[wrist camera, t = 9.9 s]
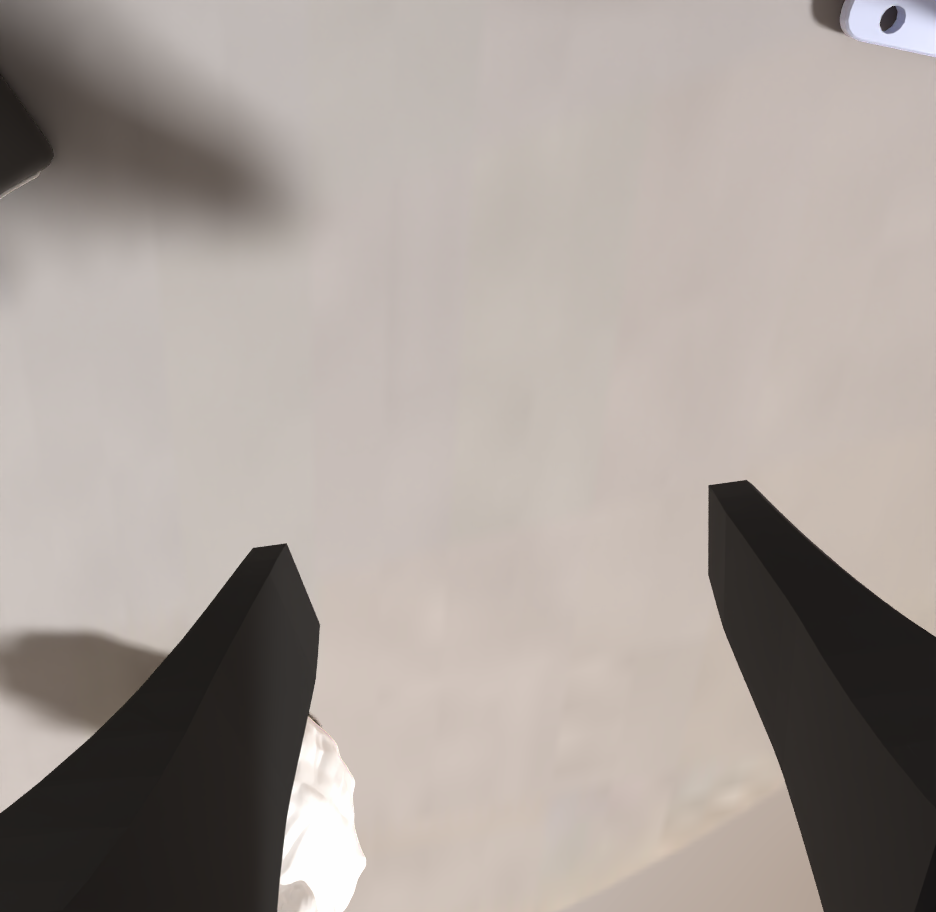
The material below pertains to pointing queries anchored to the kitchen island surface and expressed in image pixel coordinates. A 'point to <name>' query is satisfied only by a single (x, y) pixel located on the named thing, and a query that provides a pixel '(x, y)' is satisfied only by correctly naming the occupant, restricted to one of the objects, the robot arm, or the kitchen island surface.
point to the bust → (320, 831)
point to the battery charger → (19, 144)
